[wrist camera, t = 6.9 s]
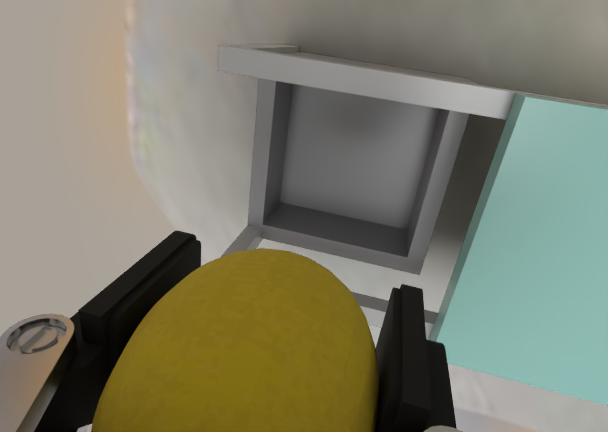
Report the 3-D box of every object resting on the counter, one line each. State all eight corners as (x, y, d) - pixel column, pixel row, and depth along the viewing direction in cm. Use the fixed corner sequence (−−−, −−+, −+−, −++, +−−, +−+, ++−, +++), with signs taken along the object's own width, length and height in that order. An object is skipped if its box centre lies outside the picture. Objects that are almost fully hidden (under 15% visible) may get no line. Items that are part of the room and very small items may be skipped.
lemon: (287, 375, 14) (167, 723, 7) (181, 259, 13) (-89, 526, 6) (423, 311, 12) (456, 736, 4) (308, 164, 11) (116, 414, 4)
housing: (284, 44, 25) (218, 45, 16) (698, 107, 21) (907, 154, 13) (267, 212, 30) (210, 283, 21) (598, 286, 27) (696, 408, 18)
